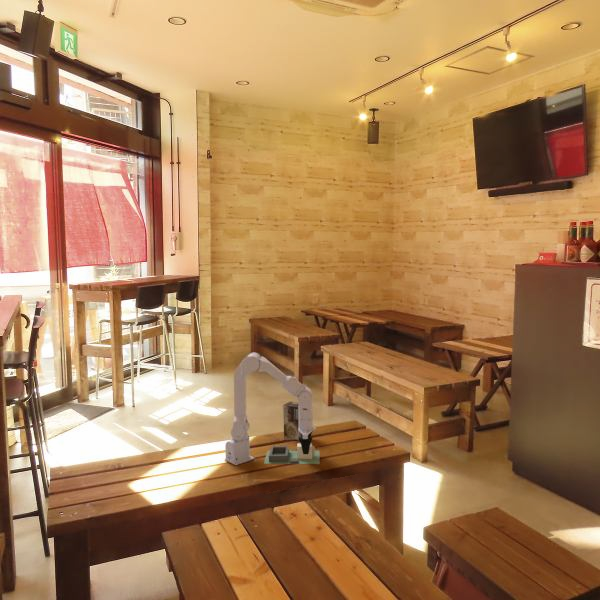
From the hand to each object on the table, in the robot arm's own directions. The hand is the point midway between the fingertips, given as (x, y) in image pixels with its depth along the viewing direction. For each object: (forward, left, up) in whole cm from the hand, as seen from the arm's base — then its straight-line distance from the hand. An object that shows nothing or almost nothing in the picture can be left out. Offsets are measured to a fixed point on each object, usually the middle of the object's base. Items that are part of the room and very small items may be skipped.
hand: (306, 450), depth 202 cm
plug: (0, 0, -3) cm, 3 cm away
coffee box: (+13, +21, -4) cm, 25 cm away
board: (-4, +4, -4) cm, 7 cm away
